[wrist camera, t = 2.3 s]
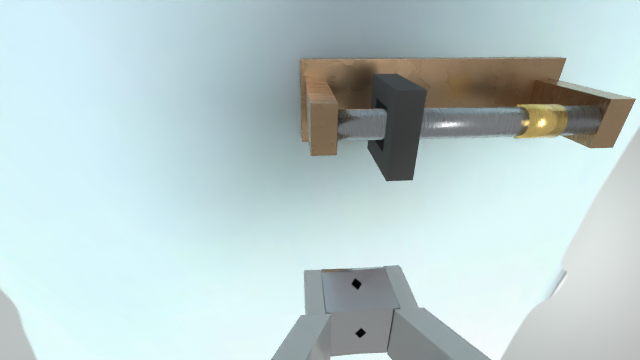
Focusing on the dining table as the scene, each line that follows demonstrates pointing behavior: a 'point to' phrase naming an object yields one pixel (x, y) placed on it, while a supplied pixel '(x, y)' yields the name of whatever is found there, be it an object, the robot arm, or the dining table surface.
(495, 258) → the dining table surface
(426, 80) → the rail
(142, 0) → the dining table surface
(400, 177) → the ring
